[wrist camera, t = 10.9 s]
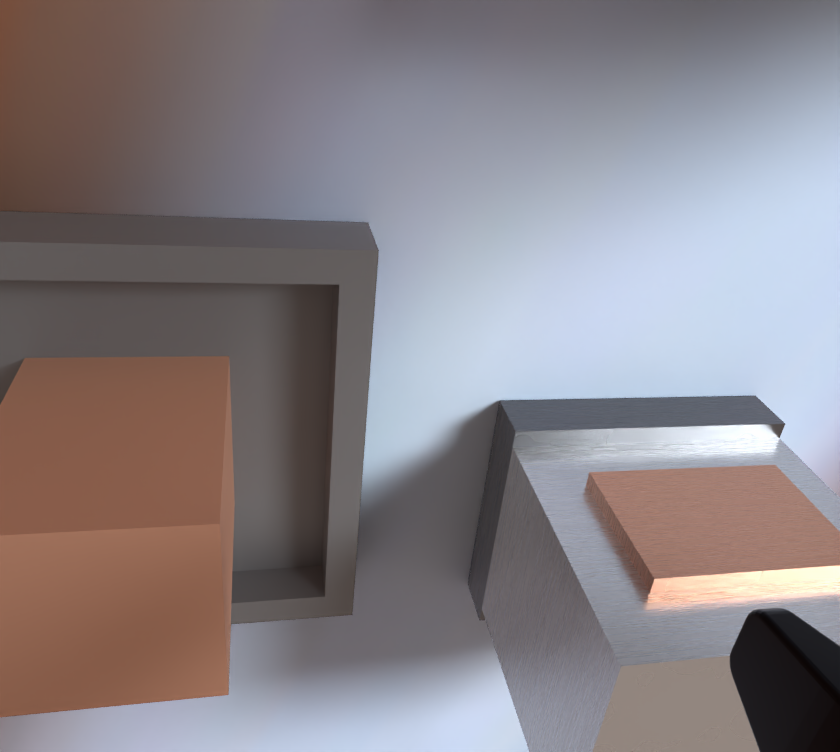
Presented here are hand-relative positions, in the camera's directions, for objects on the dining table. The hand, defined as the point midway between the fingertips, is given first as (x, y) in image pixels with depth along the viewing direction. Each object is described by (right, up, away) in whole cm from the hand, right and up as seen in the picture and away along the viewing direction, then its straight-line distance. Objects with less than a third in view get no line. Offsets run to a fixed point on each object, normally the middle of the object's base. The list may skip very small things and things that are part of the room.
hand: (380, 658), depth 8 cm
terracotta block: (-7, +2, +10) cm, 12 cm away
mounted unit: (+6, -1, +15) cm, 16 cm away
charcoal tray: (-7, +2, +11) cm, 13 cm away
